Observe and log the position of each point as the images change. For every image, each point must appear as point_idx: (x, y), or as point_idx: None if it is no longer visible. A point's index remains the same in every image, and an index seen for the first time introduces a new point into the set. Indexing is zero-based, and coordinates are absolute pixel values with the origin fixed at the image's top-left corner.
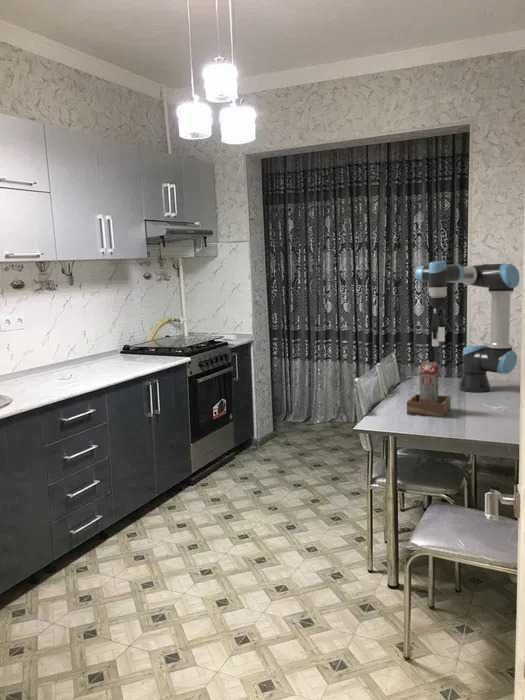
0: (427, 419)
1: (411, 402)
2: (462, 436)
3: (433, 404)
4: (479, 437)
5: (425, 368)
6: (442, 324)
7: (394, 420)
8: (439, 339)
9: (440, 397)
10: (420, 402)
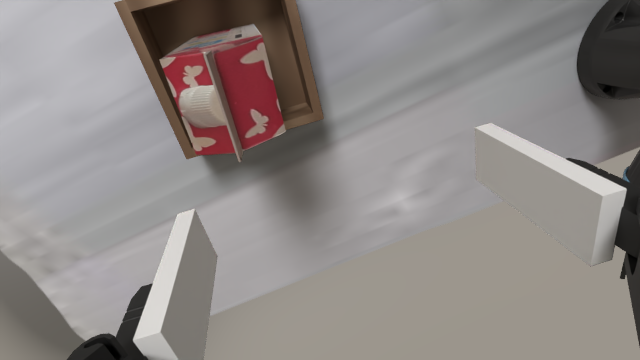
0: (133, 107)
1: (125, 26)
2: (48, 271)
3: (170, 121)
4: (79, 300)
5: (188, 94)
6: (633, 280)
7: (10, 2)
8: (487, 144)
9: (305, 83)
10: (147, 68)
